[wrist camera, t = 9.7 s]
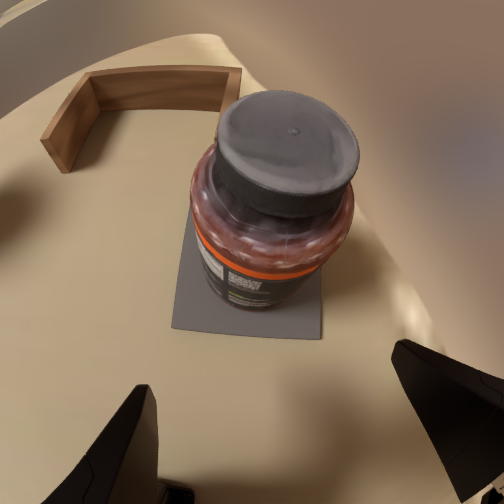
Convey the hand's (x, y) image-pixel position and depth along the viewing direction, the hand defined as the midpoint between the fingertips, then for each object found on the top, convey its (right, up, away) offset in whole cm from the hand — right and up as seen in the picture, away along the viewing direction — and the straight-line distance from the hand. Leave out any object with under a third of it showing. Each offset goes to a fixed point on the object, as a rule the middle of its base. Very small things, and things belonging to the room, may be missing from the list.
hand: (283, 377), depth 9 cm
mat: (-1, +3, +11) cm, 12 cm away
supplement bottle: (-1, +3, +11) cm, 12 cm away
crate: (-11, +15, +15) cm, 24 cm away
